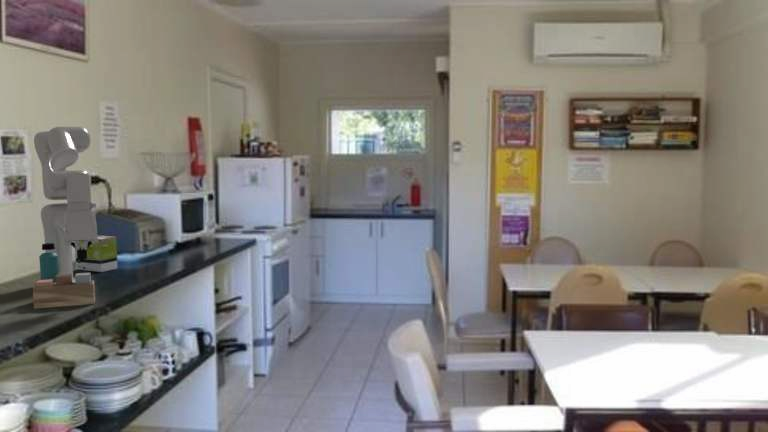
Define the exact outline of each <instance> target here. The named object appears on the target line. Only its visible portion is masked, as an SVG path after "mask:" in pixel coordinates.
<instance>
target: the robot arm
mask: <svg viewBox="0 0 768 432" xmlns="http://www.w3.org/2000/svg"><path fill="white" fill-rule="evenodd" d="M33 144H34V149H35V152H36V155H37V157H38V159H39V162H40V164H41V175H42V177H41V178H42V187H43V189H42V190H43V195H44V198H45V199H46V200H50V201H66V202H61V203H49V204H46V205H44V206H43V207H42V208H41V210H40V218H41V224H42V229H43V235H44V244H45V243H54V246H55V249H52V250H44V251H45V252H44V253H47V252H55V253H57V254H58V255H59V265H60V266H59V270H60V274H72V282H75V277H74V267H73V266H74V265H73V248H74V250H75V249H76V250H77V259H80V262H81V261H83V262H84V261H85V259H87V248H88V247H89V246H90V245H91V244H95V243H98V238H97V235H98V227H97V219H96V218H97V217H96V213H95V211H94V210H93V209H94V208H97V204H96V203H93V202H92V194H91V186H92V177H91V175H90V173H89V171H86V170H66V169H67V168H69V167H72V166H73V165H74V164H76V162H78V159H79V154H81V153H83V152H85V151H87V150H88V149H89V148H90V146H91V136H90V133H89V131H88V129H86V128H85V127H82V126H55V127H52V128H51V129H50V130H48V131H47V130H46V131H40V132H37V133H36V134H35V135H34V136H33ZM88 240H92V241H89V242H88ZM79 241H84V247H83V249H82V250H81V247H80V244H79Z"/></svg>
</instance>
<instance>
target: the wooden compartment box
mask: <svg viewBox="0 0 768 432" xmlns="http://www.w3.org/2000/svg"><path fill="white" fill-rule="evenodd" d="M95 289H96V288H95V280H91V284H77V285H76V284H75V282H72V285H62V286H56V283H53V286H47V287H36V283H35V284H34V285H33V287H32V297H33V299H32V300H33V309H45V308H46V309H47V308H58V307H72V306H86V305H94V304H95V302H96V291H95Z"/></svg>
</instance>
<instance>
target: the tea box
mask: <svg viewBox="0 0 768 432" xmlns="http://www.w3.org/2000/svg"><path fill="white" fill-rule="evenodd" d="M97 238H98V243H95V244H91V245H90V246H89V247H88V248H87V259H85V261H84V262H83V261H81V262H80V259H77V250H76V249H75V248H74V253H75V256H74V257H75V269H76V270H78V271H87V272H97V273H105V272H107V271H108V272H109V271H112V270H117V269H118V250H117V249H118V246H117V236H109V235H98V234H97ZM89 241H92V240H88V242H89ZM79 244H80V247H81V250H82V249H83V247H84V241H79Z"/></svg>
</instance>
